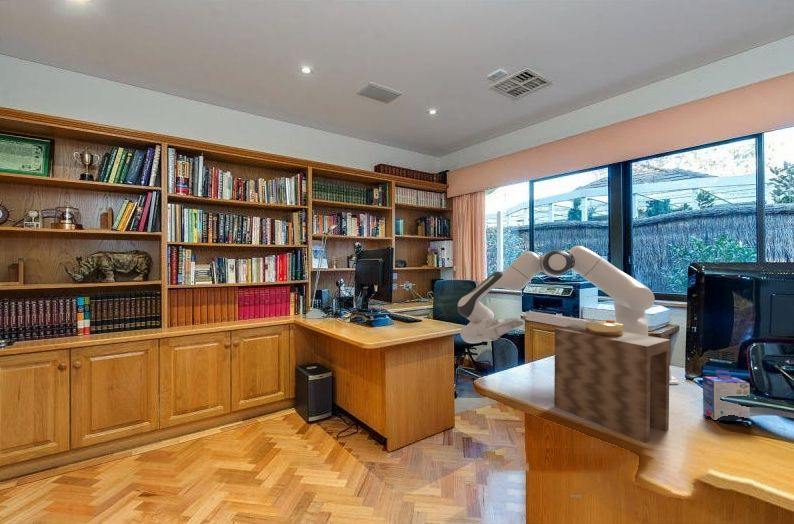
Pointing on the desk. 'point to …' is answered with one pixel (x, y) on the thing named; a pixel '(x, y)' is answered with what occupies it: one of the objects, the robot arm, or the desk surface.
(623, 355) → the chevron wooden end table
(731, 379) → the ink cartridge box
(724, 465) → the desk surface
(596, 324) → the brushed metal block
